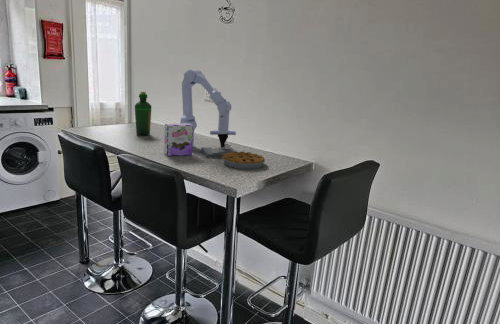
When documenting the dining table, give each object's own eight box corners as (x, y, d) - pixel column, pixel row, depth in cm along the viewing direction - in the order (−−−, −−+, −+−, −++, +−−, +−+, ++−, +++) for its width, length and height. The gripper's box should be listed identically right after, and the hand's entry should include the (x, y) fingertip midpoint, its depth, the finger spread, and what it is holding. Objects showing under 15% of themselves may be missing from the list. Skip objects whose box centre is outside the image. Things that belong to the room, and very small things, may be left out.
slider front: (213, 153, 181) (213, 147, 180) (211, 151, 185) (211, 145, 184) (218, 153, 182) (218, 147, 181) (216, 151, 186) (217, 145, 185)
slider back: (225, 149, 192) (225, 144, 191) (223, 147, 196) (223, 142, 195) (230, 149, 193) (230, 144, 192) (228, 147, 197) (228, 142, 196)
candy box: (166, 156, 176) (167, 124, 172) (163, 153, 181) (164, 123, 177) (192, 155, 182) (193, 124, 178) (189, 152, 187) (190, 123, 183)
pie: (230, 171, 159) (230, 161, 158) (215, 159, 178) (216, 150, 177) (271, 169, 168) (272, 159, 167) (253, 158, 187) (254, 149, 186)
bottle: (155, 135, 227) (155, 92, 220) (142, 136, 218) (142, 92, 211) (144, 132, 232) (144, 91, 225) (131, 134, 224) (130, 91, 217)
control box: (206, 157, 179) (207, 154, 179) (201, 150, 194) (201, 147, 193) (239, 157, 185) (239, 153, 185) (231, 150, 200) (231, 147, 199)
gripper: (212, 124, 184) (211, 148, 188) (238, 125, 189) (236, 148, 192) (209, 122, 191) (208, 146, 194) (234, 123, 195) (232, 146, 199)
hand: (222, 147), depth 194 cm, fingers closed
